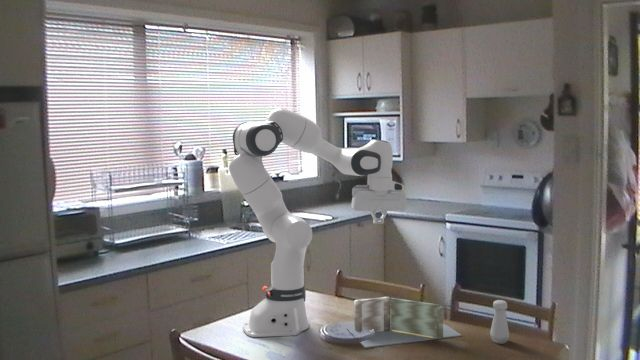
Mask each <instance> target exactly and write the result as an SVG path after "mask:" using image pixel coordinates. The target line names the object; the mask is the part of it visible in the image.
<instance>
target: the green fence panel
mask: <svg viewBox="0 0 640 360" xmlns="http://www.w3.org/2000/svg"><path fill="white" fill-rule="evenodd" d="M390 308H391V330H396V331H402V332H407V333H413V334H419V335H424V336H430V337H436V338H438V339H437V340H439V339H440V340H441V339H444V338H443V323H444V317H445V316H444V314H445V313H444V306H443V305H440V304H439V303H438V304H437V303H432V302H426V301H425V302H424V301H417V300H409V299H404V298H395V297H390ZM444 324H445V323H444Z"/></svg>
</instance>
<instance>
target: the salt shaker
mask: <svg viewBox="0 0 640 360" xmlns="http://www.w3.org/2000/svg"><path fill="white" fill-rule="evenodd" d="M492 307H493V309H494V312H493V313H494V315H493V319H492V323H491V327H490V332H489V334H490V338H491V339H492V342H493V343H495V344H502V345H504V344H505V343H507V342H508V340H509V338H510V331H509V330H510V329H509V324H508V318H507V312H506V310H507V309H508V302H507V301H505V300H502V299H497V300H494V301H493V303H492Z"/></svg>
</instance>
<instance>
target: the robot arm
mask: <svg viewBox="0 0 640 360" xmlns="http://www.w3.org/2000/svg"><path fill="white" fill-rule="evenodd" d="M232 133H233V134H232V143H233V153H234V155H235V157H234V158H233V159H232V160H231V161H230V163H229V165H228V170H229V173H230V175H231V178H232V180H233V182H234V184H235V186H236V187H237V189H238V190H239V192H240V193H241V196H243V198H244V200H245V201H246V202H247V204H248V205H249V207H250V208H251V209H252V212H253V213H254V214H255V216H256V217H255V218H256V219H257V222H258V223H259V225H260V227H261V230H262V232H263V234H264V236H265V237H267V239H268V240H270V241H271V242H273V243H275V252H274V256H273V260H272V262H271V263H270V281H271V282H270V283H271V284H270V286H269V287H268V286H266V285H264V286H263V287H262V289H261V290H262V291H263V293H265V298H263V299H262V300H261V301H260V302H258V304H257V305H255V306H254V307H253V308H252V309H251V311H250V314H249V320H248V321H245V322H244V323H243V325H242V329H243V332H244V334H246V336H249V337H251V338H264V337H285V336H288V337H289V336H297V335H299V334H301V332H303V331H305V330H307V329H309V328H310V323H309V320H308V319H309V318H308V315H307V310H306V304H305V302H306V297H307V296H306V286H305V284H304V281H305V279H304V276H305V275H304V271H305V269H304V266H305V256H306V252H307V249H308V246H309V245H310V243H311V241H312V239H313V229H312V226H311V225H310V224H309V223H308V222H307V220H305V219H304V218H302V217H300V216H297V215H295V214H292V213H291V212H290V211H289V210H288V208H287V206H286V203H285V202H284V198H283V193H282V192H281V189H279V187H278V185H277V184H276V182H275V181H274V180H273V178H272V176H271V175H270V173H269V172H268V170H267V169H266V168H265V165H264V163H263V157H268V156H270V155H271V154H273V153H275V151H276V150H277V148H278V147H279V146H280V144H281V143H282V144H284V145H286V146H288V147H290V148H292V149H295V150H297V151H300V152H303V153H308V154H312V155H314V156H316V157H318V158H320V159H322V160H324V161H325V162H327V163H328V164H330V165H331V166H332V168H333V169H334V170H335V171H336V172H337V173H338V174H339V175H342V176H353V177H355V176H357V177H358V176H359V177H364V176H367V184H357V185H355V186H353V187H352V189H351V196H352V199H351V206H350V207H351V210H352V211H354V212H370V215H371V217H372V220H373V221H372V222H373V223H372V224H375V225H376V224H384V222H385V218H386V216H387V214H388V211H389V212H402V211H406V209H407V205H408V204H407V203H408V202H407V193H405V189H406V187H405V185H404V184H402V183H400V182H397V181H395V180H393V174H392V168H393V164H394V163H393V161H394V160H393V159H394V157H393V147H392V144H391V143H390V142H388V141H386V140H382V139H371V140H370V141H369V142H368V143H367V144H365V145H363V146H360V147H358V148H351V147H337V146H336V145H334V144H332V143H330V142H329V141H327V140H325V139H323V138H322V135H323V134H322V129H321V127H320V126H319V125H318V124H316V123H315V122H314V121H313V120H311V119H309V118H308V117H305V116H303V115H301V114H299V113H296V112H294V111H291V110H288V109H285V108H275V109H273V110H272V111H270V113H269V114H268V116H267V118H266V120H265V121H245V122H242V123H240V124H239V125H237V126H236V127H235V129H234V131H233V132H232ZM377 212H380V213H381V214H382V215H381V216H380V217H376V214H377Z"/></svg>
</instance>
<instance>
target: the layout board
mask: <svg viewBox="0 0 640 360" xmlns="http://www.w3.org/2000/svg"><path fill="white" fill-rule="evenodd" d="M457 337H458V338H459V337H462V334H461V333H459V332H457V331H456V330H455V329H454V328H451V327H450V326H448V325H447V324H445V323H443V339H446V338H447V339H449V338H457ZM432 340H433V341H434V340H439V339H438V338H436V337H430V336H424V335H419V334H413V333H407V332H402V331H396V330H390V331H379V332H375V334H374V335H373V337H372V338H370V339H368V340H365V341H362V342H359V344H361V345H362V346H363V347H364V348H365V349H369V348H370V349H371V348H377V347H378V348H379V347H386V346H392V345H400V344H409V343H416V342H418V343H419V342H426V341H432Z"/></svg>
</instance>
